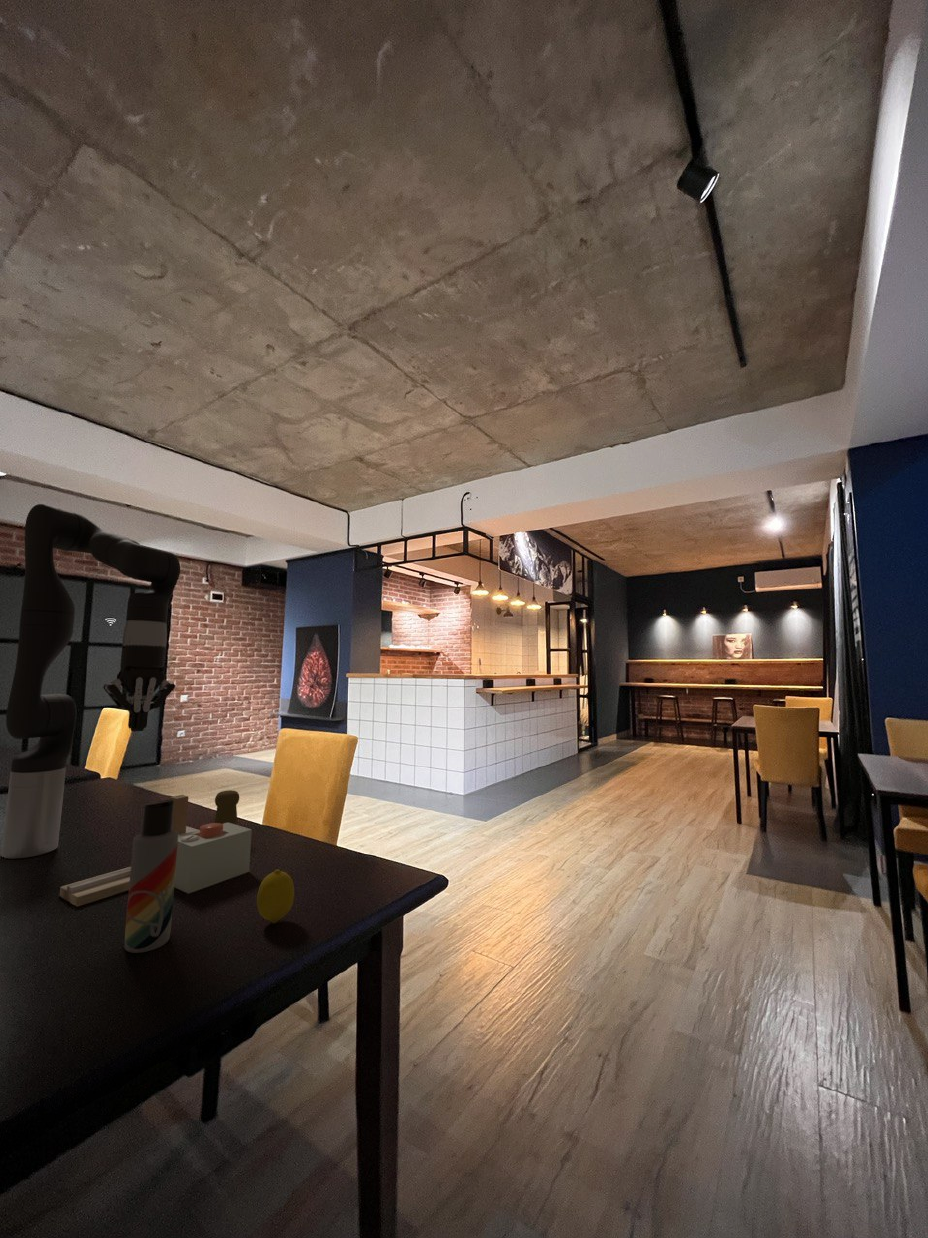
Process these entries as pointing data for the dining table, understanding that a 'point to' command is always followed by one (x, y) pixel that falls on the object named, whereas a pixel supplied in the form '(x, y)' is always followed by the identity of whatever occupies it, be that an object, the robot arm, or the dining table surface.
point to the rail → (96, 887)
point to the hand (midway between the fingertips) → (136, 730)
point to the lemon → (275, 896)
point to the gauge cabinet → (211, 857)
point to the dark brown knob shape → (226, 807)
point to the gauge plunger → (211, 830)
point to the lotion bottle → (152, 880)
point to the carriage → (180, 814)
